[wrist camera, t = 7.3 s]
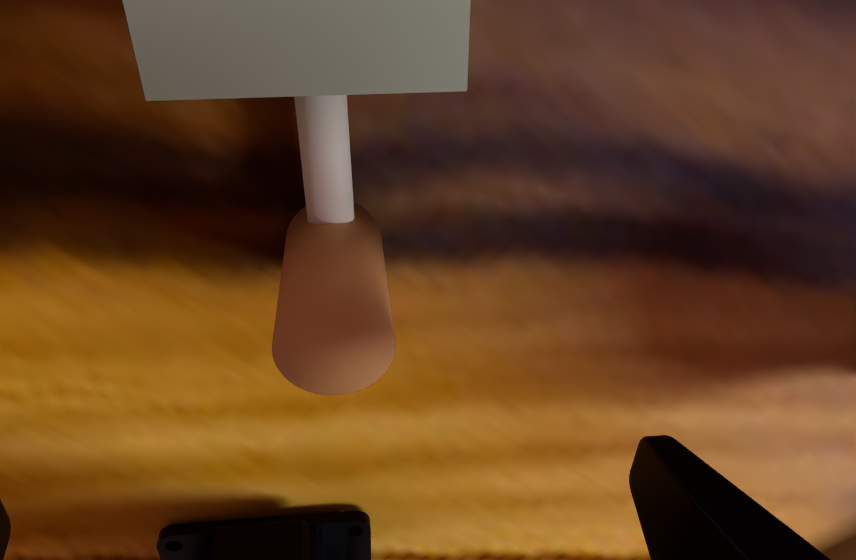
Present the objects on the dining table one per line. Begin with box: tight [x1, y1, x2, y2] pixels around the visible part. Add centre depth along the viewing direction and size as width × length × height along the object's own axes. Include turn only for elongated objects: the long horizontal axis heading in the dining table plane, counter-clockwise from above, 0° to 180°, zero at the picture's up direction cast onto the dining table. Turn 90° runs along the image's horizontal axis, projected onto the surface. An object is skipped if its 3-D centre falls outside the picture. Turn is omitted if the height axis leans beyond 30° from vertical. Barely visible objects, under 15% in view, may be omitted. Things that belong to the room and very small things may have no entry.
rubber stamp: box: [122, 0, 470, 395], centre depth 11 cm, size 10×4×4 cm, turn 0°
